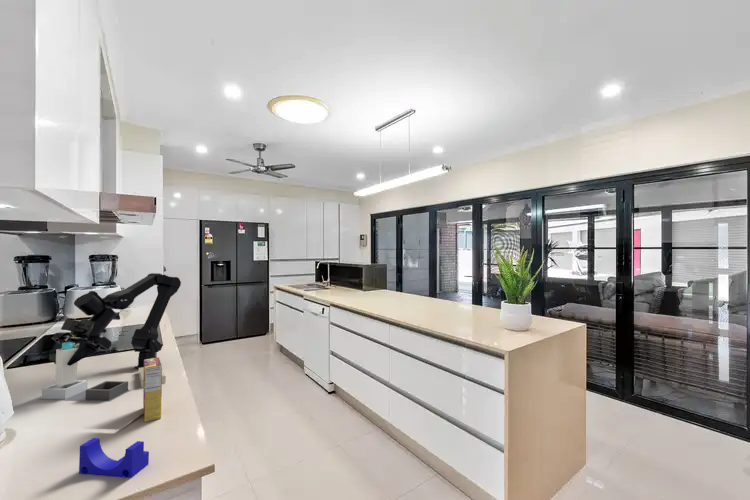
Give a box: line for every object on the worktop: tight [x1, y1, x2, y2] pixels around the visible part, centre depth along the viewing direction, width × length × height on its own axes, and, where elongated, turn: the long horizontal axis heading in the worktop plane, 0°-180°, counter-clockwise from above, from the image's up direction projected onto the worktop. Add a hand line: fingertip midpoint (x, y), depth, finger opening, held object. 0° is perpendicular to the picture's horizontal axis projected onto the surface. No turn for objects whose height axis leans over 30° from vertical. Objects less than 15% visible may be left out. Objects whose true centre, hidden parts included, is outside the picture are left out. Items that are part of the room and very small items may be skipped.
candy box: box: [142, 357, 163, 423], centre depth 95 cm, size 9×4×15 cm, turn 37°
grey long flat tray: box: [36, 379, 132, 403], centre depth 105 cm, size 9×23×4 cm, turn 89°
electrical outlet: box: [138, 367, 167, 389], centre depth 121 cm, size 7×4×18 cm
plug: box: [54, 342, 78, 386], centre depth 106 cm, size 4×4×13 cm
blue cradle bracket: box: [78, 437, 150, 479], centre depth 70 cm, size 12×4×6 cm, turn 85°
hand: (61, 364), depth 105 cm, fingers closed on plug, 5 cm apart
